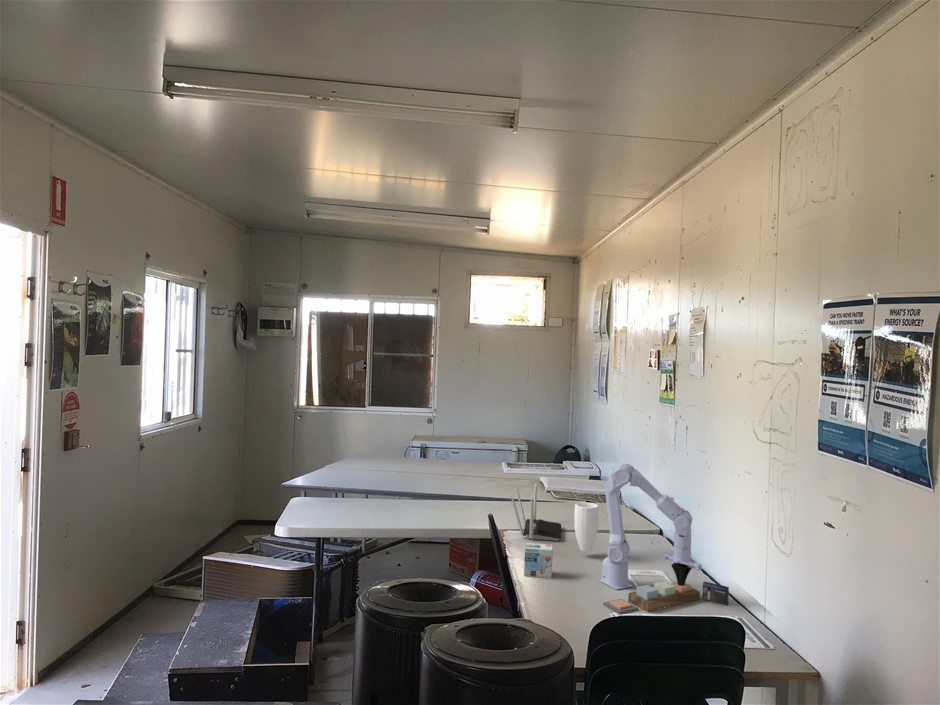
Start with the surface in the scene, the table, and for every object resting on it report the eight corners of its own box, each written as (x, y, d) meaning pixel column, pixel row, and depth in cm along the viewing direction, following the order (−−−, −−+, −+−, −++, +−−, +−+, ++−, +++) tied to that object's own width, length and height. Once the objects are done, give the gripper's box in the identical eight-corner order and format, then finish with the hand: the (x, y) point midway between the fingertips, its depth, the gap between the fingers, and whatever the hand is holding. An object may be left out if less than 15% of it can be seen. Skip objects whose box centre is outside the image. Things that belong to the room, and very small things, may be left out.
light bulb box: (523, 576, 232) (524, 547, 232) (524, 570, 238) (525, 542, 238) (552, 578, 230) (552, 549, 230) (552, 572, 237) (553, 544, 237)
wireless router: (560, 546, 269) (561, 500, 269) (508, 542, 273) (509, 497, 272) (561, 525, 302) (562, 484, 302) (514, 521, 306) (515, 481, 306)
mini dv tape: (702, 599, 214) (702, 582, 214) (703, 598, 215) (703, 581, 215) (727, 605, 209) (727, 588, 209) (728, 604, 211) (728, 586, 211)
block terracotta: (670, 594, 217) (670, 583, 217) (680, 592, 219) (680, 581, 219) (681, 599, 212) (681, 588, 212) (691, 597, 215) (691, 586, 215)
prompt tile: (603, 604, 207) (603, 600, 207) (621, 601, 211) (621, 596, 211) (619, 614, 200) (619, 610, 200) (637, 610, 204) (637, 605, 204)
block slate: (636, 598, 209) (636, 587, 209) (647, 596, 211) (647, 584, 211) (646, 604, 205) (647, 592, 205) (657, 601, 207) (658, 590, 207)
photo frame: (661, 570, 241) (677, 587, 223) (661, 572, 241) (677, 590, 223) (624, 568, 241) (637, 586, 223) (624, 571, 241) (637, 589, 223)
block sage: (653, 595, 213) (654, 583, 213) (664, 592, 215) (664, 581, 215) (664, 600, 208) (664, 588, 208) (675, 597, 211) (675, 586, 211)
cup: (598, 561, 250) (599, 509, 250) (572, 559, 252) (573, 507, 252) (597, 553, 260) (599, 503, 260) (573, 551, 262) (574, 501, 262)
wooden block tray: (628, 601, 210) (628, 593, 210) (679, 590, 222) (679, 582, 222) (647, 612, 202) (647, 602, 202) (699, 599, 214) (699, 591, 214)
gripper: (658, 542, 219) (657, 580, 219) (692, 554, 207) (691, 594, 207) (670, 539, 223) (669, 576, 223) (705, 550, 211) (704, 590, 211)
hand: (681, 584), depth 216 cm, fingers closed, pressing on block terracotta
